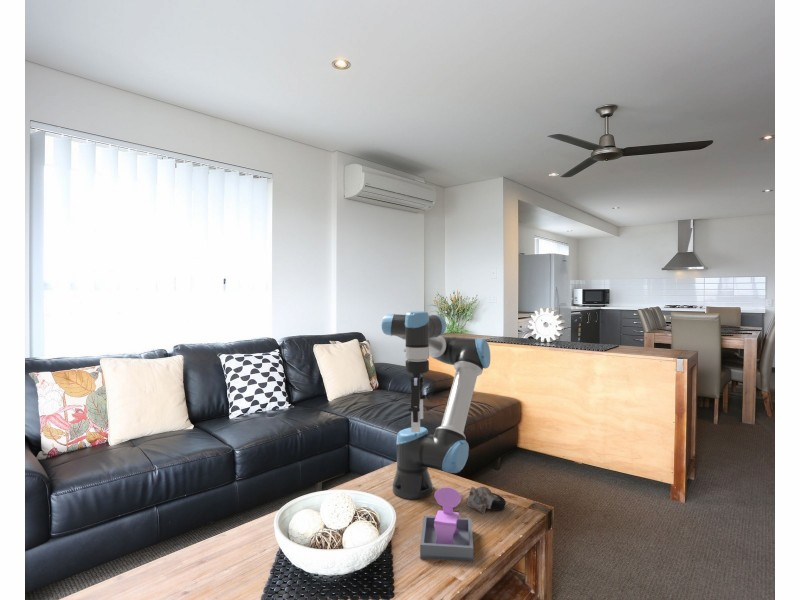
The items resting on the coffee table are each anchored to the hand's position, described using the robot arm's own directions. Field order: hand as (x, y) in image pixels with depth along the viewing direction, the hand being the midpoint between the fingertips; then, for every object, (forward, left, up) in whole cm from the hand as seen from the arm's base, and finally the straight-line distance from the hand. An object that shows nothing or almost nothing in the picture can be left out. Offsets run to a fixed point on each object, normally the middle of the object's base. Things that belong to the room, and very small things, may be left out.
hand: (417, 425), depth 145 cm
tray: (+10, +10, -33) cm, 35 cm away
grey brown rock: (-14, +24, -33) cm, 43 cm away
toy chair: (+10, +10, -32) cm, 35 cm away
